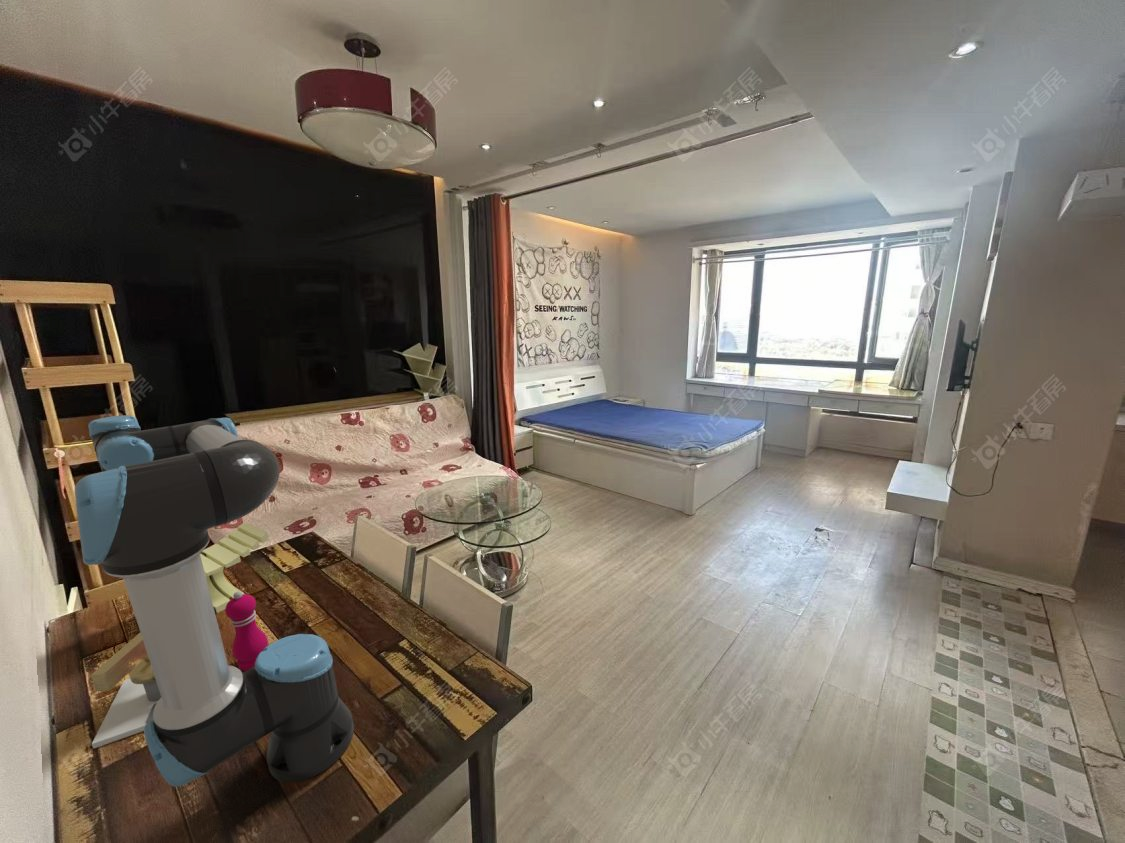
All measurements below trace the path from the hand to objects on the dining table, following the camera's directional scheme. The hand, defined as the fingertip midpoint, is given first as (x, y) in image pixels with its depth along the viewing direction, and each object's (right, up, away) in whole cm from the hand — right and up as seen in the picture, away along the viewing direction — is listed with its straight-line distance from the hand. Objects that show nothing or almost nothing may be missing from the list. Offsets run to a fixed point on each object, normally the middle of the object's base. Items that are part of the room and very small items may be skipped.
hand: (159, 580), depth 103 cm
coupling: (+3, -19, -4) cm, 19 cm away
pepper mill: (+17, -23, +8) cm, 30 cm away
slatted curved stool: (-12, -17, +31) cm, 38 cm away
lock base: (+3, -26, -2) cm, 26 cm away
